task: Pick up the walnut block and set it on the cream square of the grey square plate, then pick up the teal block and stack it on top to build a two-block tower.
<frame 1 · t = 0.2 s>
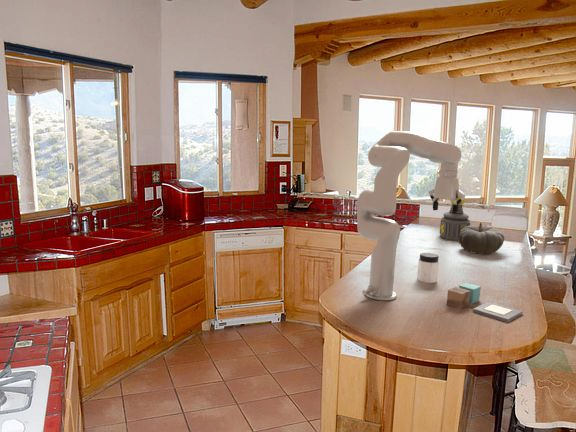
hand: (444, 211, 220), 31 cm above the countertop, fingers open, 9 cm apart
walnut block: (457, 305, 188), on the countertop
jar: (426, 280, 219), on the countertop
grey square plate: (497, 313, 180), on the countertop
teal block: (468, 300, 194), on the countertop
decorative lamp: (453, 237, 318), on the countertop
gourd: (480, 252, 279), on the countertop
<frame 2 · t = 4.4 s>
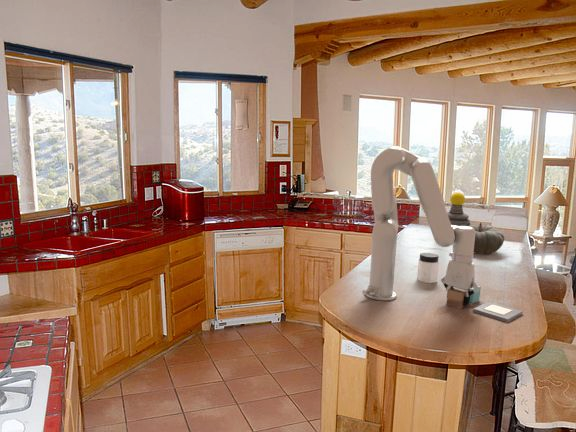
hand: (457, 302, 188), 1 cm above the countertop, fingers closed on walnut block, 6 cm apart
walnut block: (457, 304, 188), on the countertop, touching gripper
everything else where it was.
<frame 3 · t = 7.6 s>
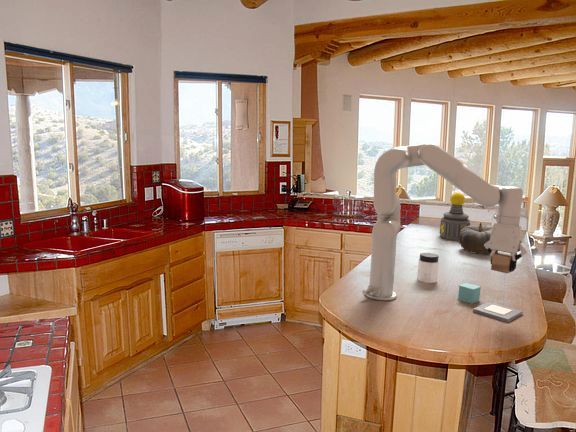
hand: (502, 268, 178), 17 cm above the countertop, fingers closed on walnut block, 6 cm apart
walnut block: (502, 270, 178), point 17 cm above the countertop, touching gripper
everything else where it was.
when the fingers open (4 cm above the countertop, at t = 10.6 s): walnut block drops 1 cm, resting on grey square plate.
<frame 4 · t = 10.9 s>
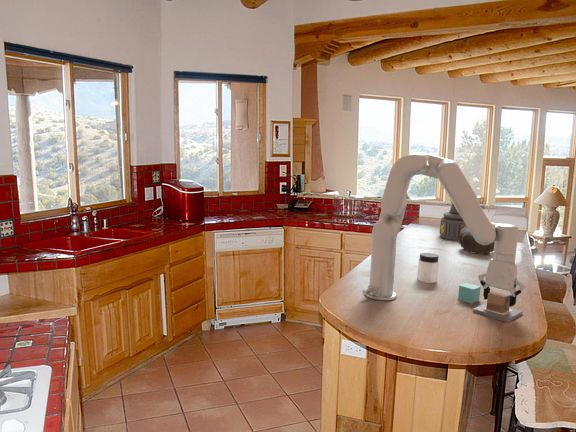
hand: (498, 302, 180), 4 cm above the countertop, fingers open, 9 cm apart
walnut block: (497, 309, 180), point 1 cm above the countertop, touching grey square plate
everything else where it was.
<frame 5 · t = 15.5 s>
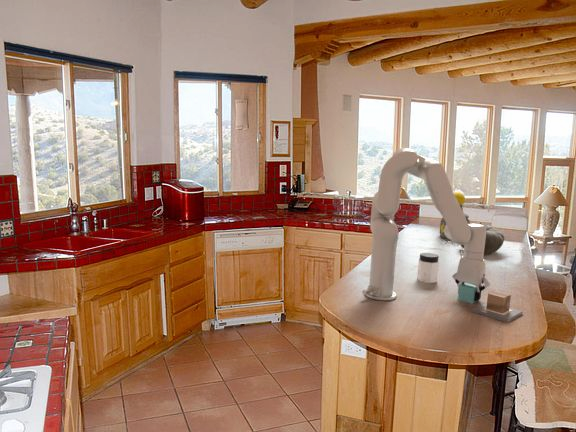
hand: (468, 298, 194), 1 cm above the countertop, fingers closed on teal block, 6 cm apart
teal block: (468, 300, 194), on the countertop, touching gripper
everything else where it was.
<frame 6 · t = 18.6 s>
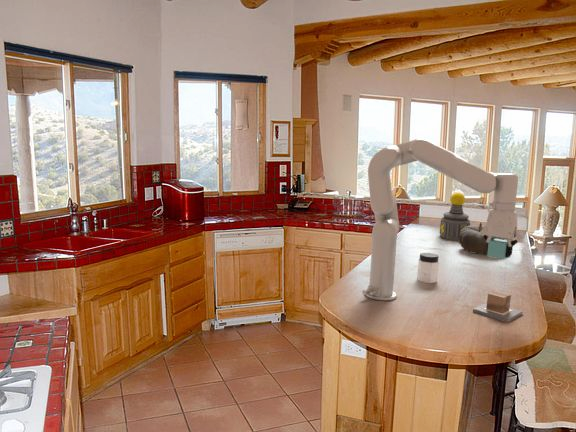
hand: (498, 254, 179), 22 cm above the countertop, fingers closed on teal block, 6 cm apart
teal block: (498, 256, 179), point 21 cm above the countertop, touching gripper
everything else where it was.
when the fingers open (9 cm above the countertop, at t = 21.6 s): teal block stays where it is, resting on walnut block.
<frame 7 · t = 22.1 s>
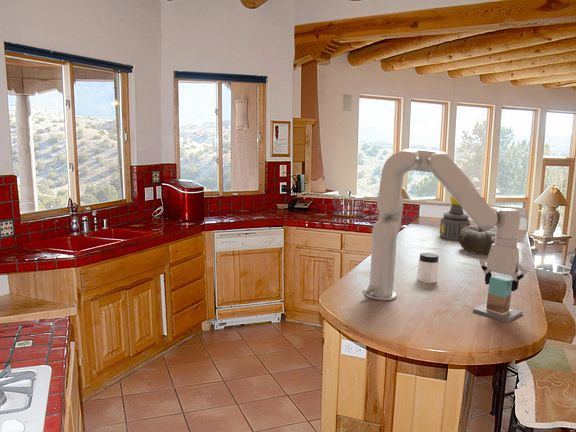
hand: (500, 287, 179), 10 cm above the countertop, fingers open, 9 cm apart
walnut block: (497, 309, 180), point 1 cm above the countertop, touching grey square plate, teal block
teal block: (499, 294, 179), point 7 cm above the countertop, touching walnut block
everything else where it was.
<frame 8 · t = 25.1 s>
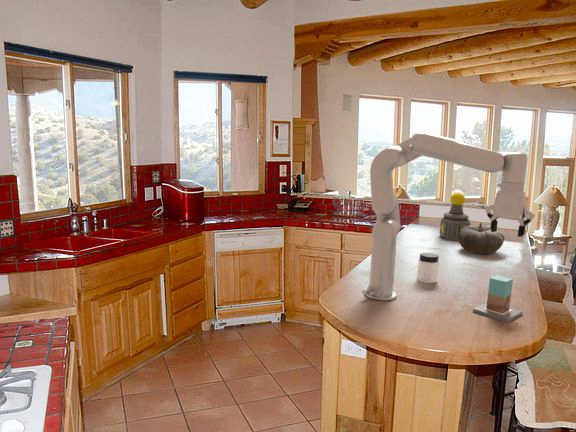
hand: (506, 233, 175), 30 cm above the countertop, fingers open, 9 cm apart
nothing on the countertop moved.
at the end: walnut block 0.1 cm off-centre on the grey square plate, point 1.4 cm above the grey square plate's base; teal block 0.0 cm off-centre on the walnut block, point 6.0 cm above the walnut block's base; teal block tilted 0° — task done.
